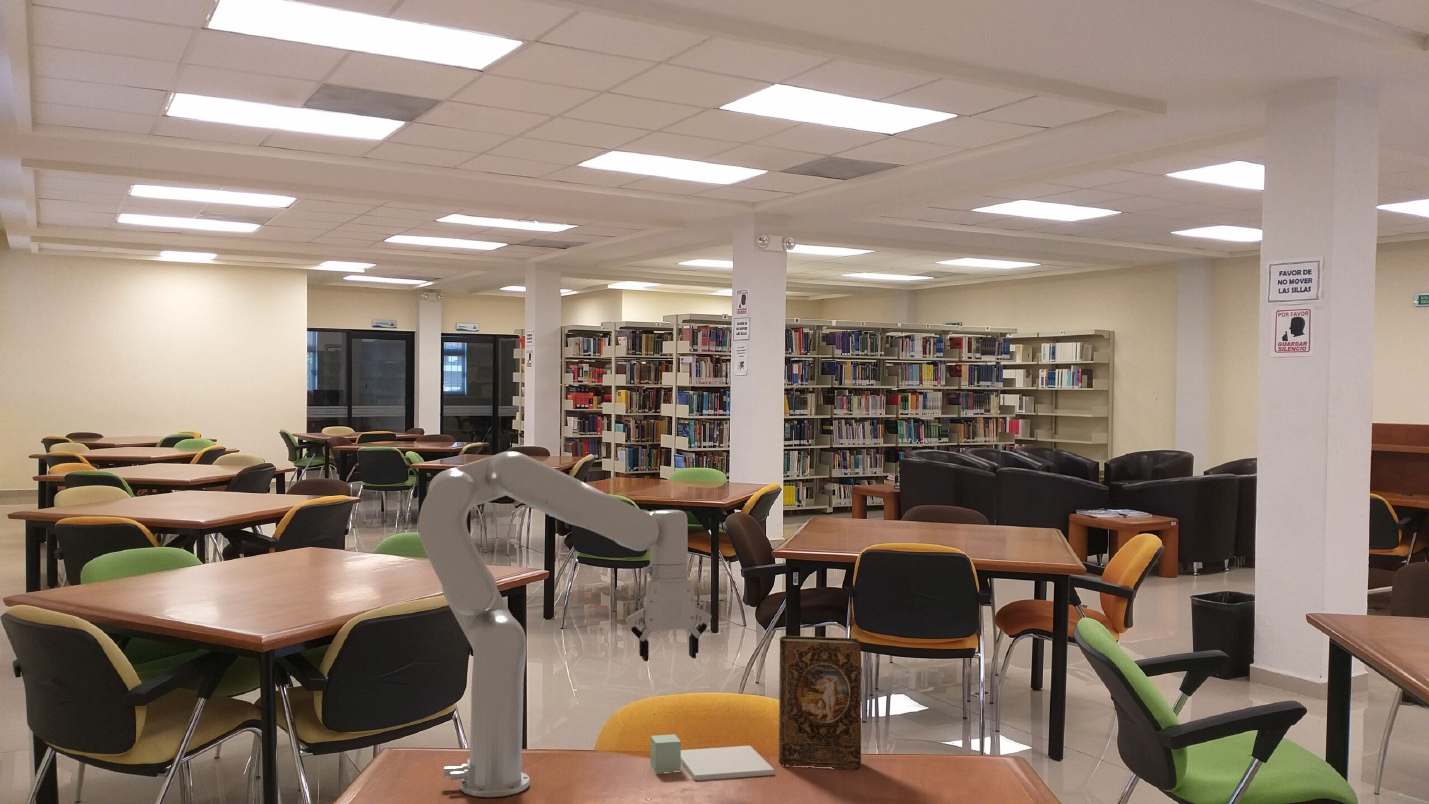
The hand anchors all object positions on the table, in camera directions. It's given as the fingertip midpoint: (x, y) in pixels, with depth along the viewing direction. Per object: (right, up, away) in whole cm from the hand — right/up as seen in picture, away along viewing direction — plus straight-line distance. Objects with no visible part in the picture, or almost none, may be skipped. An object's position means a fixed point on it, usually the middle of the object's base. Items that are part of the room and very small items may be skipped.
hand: (669, 658), depth 193 cm
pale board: (+11, -22, +2) cm, 25 cm away
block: (-1, -22, -1) cm, 22 cm away
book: (+30, -22, +3) cm, 38 cm away
